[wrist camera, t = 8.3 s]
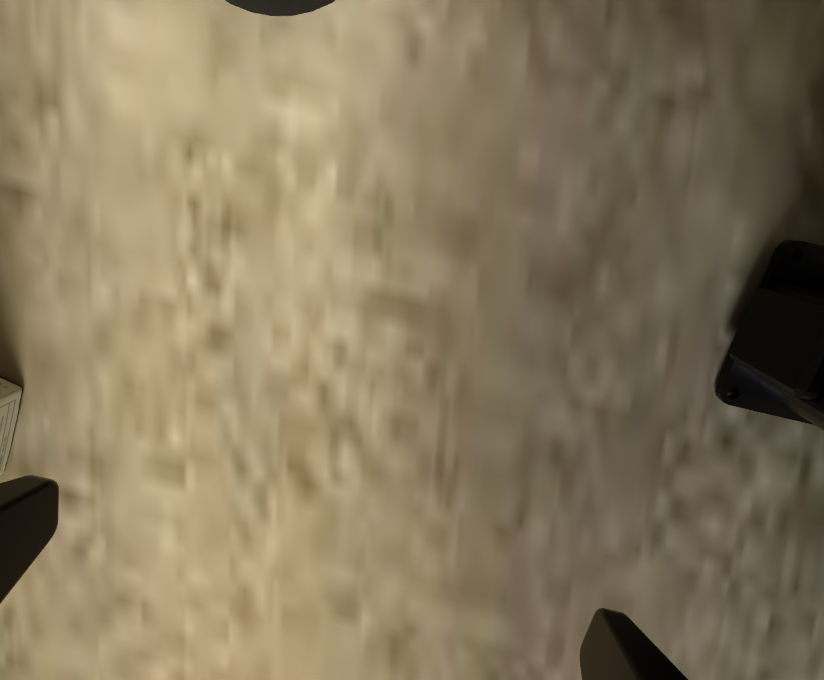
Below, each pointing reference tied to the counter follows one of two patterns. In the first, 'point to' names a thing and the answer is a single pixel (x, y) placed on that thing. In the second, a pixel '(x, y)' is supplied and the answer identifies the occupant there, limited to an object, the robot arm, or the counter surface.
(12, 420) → the box
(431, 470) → the counter surface
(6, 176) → the counter surface
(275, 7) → the mug
